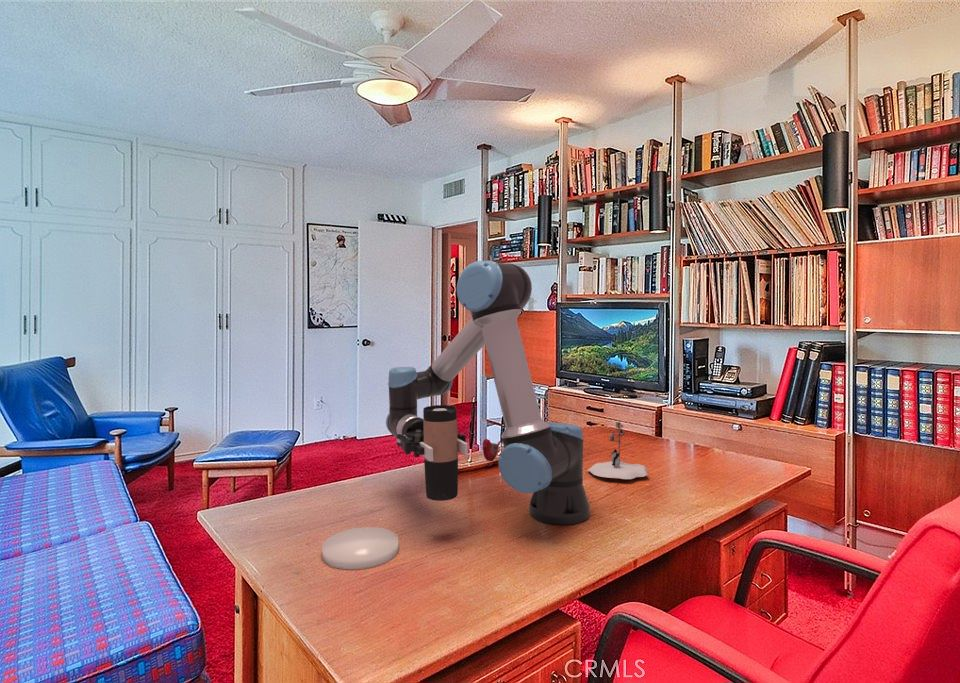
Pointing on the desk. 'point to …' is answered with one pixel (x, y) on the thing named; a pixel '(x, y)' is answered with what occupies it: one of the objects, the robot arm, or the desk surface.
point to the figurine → (618, 464)
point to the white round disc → (360, 548)
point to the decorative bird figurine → (490, 450)
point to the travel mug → (441, 452)
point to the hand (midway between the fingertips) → (449, 452)
